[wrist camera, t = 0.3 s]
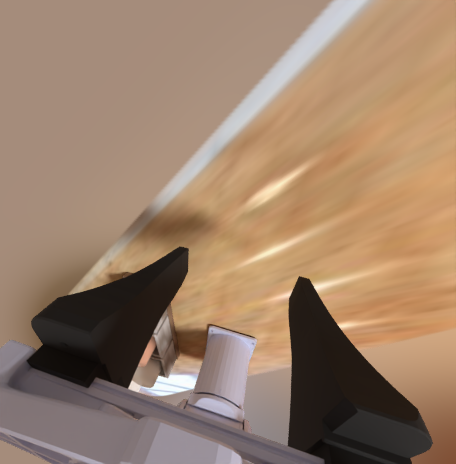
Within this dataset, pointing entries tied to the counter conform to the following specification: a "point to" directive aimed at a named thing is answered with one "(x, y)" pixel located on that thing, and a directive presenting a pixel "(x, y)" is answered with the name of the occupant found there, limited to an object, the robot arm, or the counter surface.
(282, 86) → the counter surface
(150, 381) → the knob
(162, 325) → the mount
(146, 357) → the middle knob
